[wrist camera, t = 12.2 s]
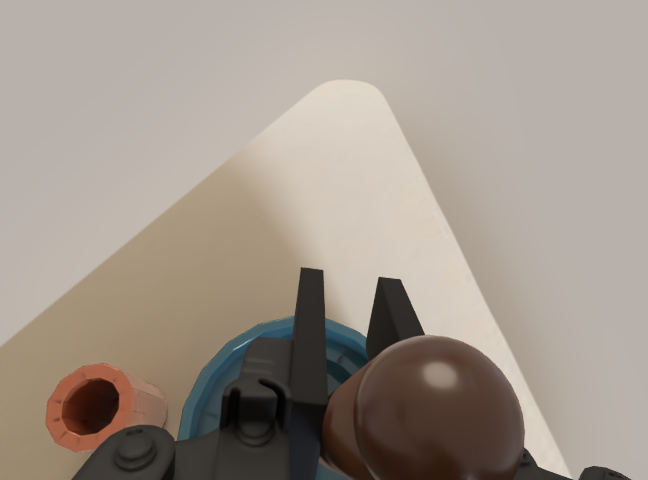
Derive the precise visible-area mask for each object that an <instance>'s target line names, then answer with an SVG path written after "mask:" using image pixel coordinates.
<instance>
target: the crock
mask: <svg viewBox="0 0 648 480" xmlns="http://www.w3.org/2000/svg"><path fill="white" fill-rule="evenodd" d="M166 416H167V403H166V400H165V397H164V395H163V394H162V392H161V391H160V390H159V389H158V388H157V387H156V386H154V385H152V384H149V383H147V382H145V381H143V380H141V379H139V378H137V377H134V376H132V375H130V374H128V373H126V372H124V371H121V370H119V369H117V368H114V367H112V366H110V365H107V364H104V363H103V364H95V365H88V366H82V367H81V368H79V369H78V370H76V371H75V372H73V373H71V374H70V375H68V376H67V377H65V378H64V379H63V380H61V382H60V383H59V385H58V386H57V388H56V389H55V391H54V392H53V394H52V396H51V397H50V399H49V401H48V405H47V414H46V426H47V428H48V430H49V432H50V434H51V436H52V437H53V439H54V441H55V443H57V444H58V445H61V446H63V447H65V448H67V449H70V450H72V451H74V452H87V451H95V450H96V449H97V448H98V446H99V445H100V444H101V443H102V442H104V441H105V440H106V439H107V438H108V437H109V436H110V435H112V434H114V433H116V432H118V431H120V430H122V429H124V428H126V427H131V426H136V425H140V424H141V425H155V426H158V427H160V428H162V427H163V425H164V423H165V420H166Z"/></svg>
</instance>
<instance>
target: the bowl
mask: <svg viewBox="0 0 648 480" xmlns="http://www.w3.org/2000/svg"><path fill="white" fill-rule="evenodd" d="M294 318H295V316H291V317H287V318H282V319H278V320H274V321H269V322H265V323H261V324H258V325H256V326H255V327H253V328H251V329H250V330H248V331H246V332H244V333H243V334H241V335H239V336H238V337H236V338H234V339H232V340H231V341H229V342H228V343H227V344H226V345H225V346H224V347H223V348H222V349H221V350H220V351H219V352H218V353H217V354H216V356H215V357H214V358H213V359H212V360H211V361H210V362H209V363H208V364H207V365H206V366H205V367H204V368H203V369H202V371H201V373H200V375H199V377H198V379H197V381H196V383H195V385H194V387H193V389H192V391H191V393H190V395H189V397H188V399H187V401H186V403H185V405H184V408H183V411H182V416H181V422H180V427H179V433H178V438H177V441H179V440H185V439H191V438H195V437H199V436H203V435H205V434H207V433H210V432H212V431H213V430H215V429H216V428H217V427H219V426H220V416H221V402H222V394H223V392H224V390H225V388H226V386H227V385H229V384H230V383H231V382H232V381H234V380H235V379H238V377H239V374H240V371H241V367H242V363H243V360H244V356H245V352H246V348H247V346H248V345H249V344H250V343H251V342H252V341H253V340H254V339H255V338H256V337H257V336H259V337H268V338H277V339H286V340H292V333H293V326H294ZM325 331H326V358H327V385H328V396H329V395H330V394H331V393H332V392H333V391H335V390H336V389H337V388H338V387H339V386H341V385H342V384H343V383H344V382H345V381H347V380H348V379H349V378H350V377H352V376H353V375H354V374H355V373H356V372H358V371H359V370H360V369H361V368H362V367H364V366H365V365H366V364H367V363H368V356H367V351H366V346H365V344H366V339H367V338H366V337H365V336H363V335H362V334H361V333H360V332H358V331H356V330H354V329H351V328H349V327H346V326H344V325H341V324H339V323H336V322H334V321H332V320H329V319H325ZM315 480H350V479H348V478H346V477H344V476H342V475H340V474H338V473H336V472H334V471H332V470H330V469H328V468H326V467H324V466H322V465H320V464H318V467H317V473H316V478H315Z"/></svg>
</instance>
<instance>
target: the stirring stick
mask: <svg viewBox="0 0 648 480" xmlns="http://www.w3.org/2000/svg"><path fill="white" fill-rule="evenodd" d="M524 435H525V429H524V421H523V414H522V411H521V407H520V404H519V401H518V398H517V396H516V394H515V392H514V390H513V388H512V386H511V384H510V383H509V381H508V380H507V378H506V377H505V375H504V374H503V373H502V371H501V370H500V369H499V368H498V367H497V366H496V365H495V364H494V363H493V362H492V361H491V360H490V358H488V357H487V356H486V355H484V354H483V353H482V352H480V351H479V350H478V349H476V348H474V347H472V346H470V345H468V344H466V343H464V342H462V341H459V340H455V339H452V338H449V337H444V336H434V335H423V336H414V337H411V338H408V339H405V340H402V341H399V342H397V343H395V344H393V345H391V346H389V347H387V348H386V349H385V350H383V351H382V352H381V353H379V354H378V355H377V356H376V357H374V358H373V359H372V360H371V361H370V362H368V363H367V364H366V365H365V366H364V367H362V368H361V369H360V370H359V371H358V372H356V373H355V374H354V375H353V376H352V377H350V378H349V379H348V380H347V381H345V382H344V383H343V384H342V385H341V386H339V387H338V388H337V389H336V390H335V391H333V392H332V393H331V394H330V395H329V396H328V406H327V409H326V412H325V414H324V418H323V423H322V444H321V450H320V455H319V461H318V464H320V465H322V466H324V467H326V468H328V469H330V470H332V471H334V472H336V473H338V474H340V475H342V476H344V477H346V478H348V479H350V480H513V479H514V477H515V475H516V473H517V471H518V469H519V466H520V463H521V458H522V454H523V450H524Z"/></svg>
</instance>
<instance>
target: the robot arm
mask: <svg viewBox="0 0 648 480" xmlns="http://www.w3.org/2000/svg"><path fill="white" fill-rule="evenodd" d="M423 335H425V334H424V331H423V329H422V327H421V325H420V322H419V320H418V318H417V316H416V313H415V311H414V309H413V307H412V304H411V302H410V300H409V298H408V295H407V293H406V291H405V289H404V286H403V284H402V282H401V280H400V279H392V278H384V277H379V278H378V283H377V288H376V293H375V298H374V304H373V309H372V314H371V319H370V324H369V329H368V334H367V339H366V344H365V346H366V351H367V356H368V362H370V361H371V360H372V359H373V358H374V357H376V356H377V355H378V354H379V353H381V352H382V351H383V350H385V349H386V348H387V347H389V346H391V345H393V344H395V343H397V342H399V341H402V340H405V339H408V338H411V337H414V336H423ZM327 406H328V385H327V358H326V331H325V304H324V276H323V270H318V269H310V268H302V267H301V272H300V280H299V288H298V295H297V303H296V310H295V318H294V326H293V333H292V340H286V339H277V338H268V337H259V336H257V337H256V338H255V339H254V340H253V341H252V342H251V343H250V344H249V345H248V346H247V348H246V352H245V356H244V360H243V363H242V367H241V371H240V374H239V377H238V379H235V380H234V381H232V382H231V383H230V384H229V385H227V386H226V388H225V390H224V392H223V394H222V402H221V416H220V426H219V427H217V428H216V429H215V430H213V431H212V432H210V433H207V434H205V435H203V436H199V437H195V438H191V439H185V440H179V441H174V438H173V437H172V436H171V435H170V434H169V433H168V431H167V430H165V429H163V428H160V427H158V426H155V425H141V424H140V425H136V426H131V427H126V428H124V429H122V430H120V431H118V432H116V433H114V434H112V435H110V436H109V437H108V438H107V439H106V440H105V441H104V442H102V443H101V444H100V445H99V446H98V448H97V449H96V450H95V451H94V453H93V454H92V455H91V456H90V458H89V459H88V460H87V461H86V462H85V464H84V465H83V466H82V467H81V469H80V470H79V471H78V472H77V474H76V475H75V476H74V477H73V478H72V480H315V478H316V473H317V467H318V461H319V455H320V450H321V444H322V423H323V418H324V414H325V412H326V409H327ZM513 480H573V479H570V478H567V477H564V476H561V475H558V474H555V473H553V472H550V471H547V470H544V469H542V468H540V467H538V466H537V464H536V462H535V460H534V459H533V457H532V456H531V454H530V453H529V451H528V450H527V449H525V448H524V450H523V454H522V458H521V463H520V466H519V469H518V471H517V473H516V475H515V477H514V479H513ZM579 480H631V479H629V478H628V477H626V476H624V475H623V474H621V473H618V472H616V471H613V470H611V469H608V468H604V467H598V466H597V467H596V466H592V467H588V468H585V469H584V471H583V472H582V474H581V476H580V478H579Z"/></svg>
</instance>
